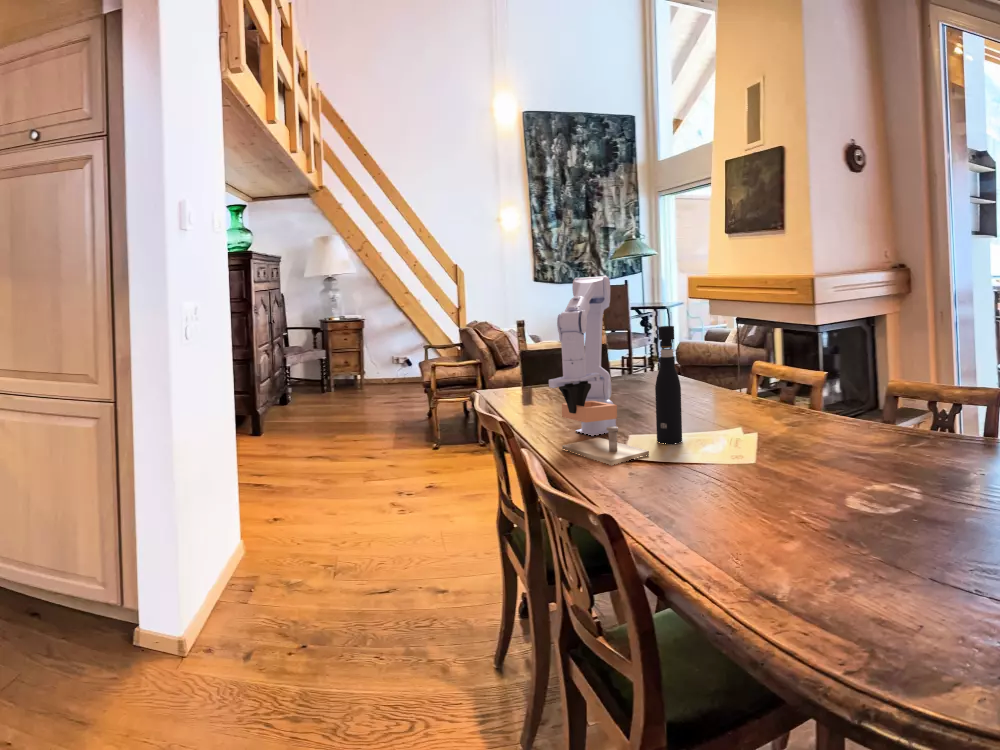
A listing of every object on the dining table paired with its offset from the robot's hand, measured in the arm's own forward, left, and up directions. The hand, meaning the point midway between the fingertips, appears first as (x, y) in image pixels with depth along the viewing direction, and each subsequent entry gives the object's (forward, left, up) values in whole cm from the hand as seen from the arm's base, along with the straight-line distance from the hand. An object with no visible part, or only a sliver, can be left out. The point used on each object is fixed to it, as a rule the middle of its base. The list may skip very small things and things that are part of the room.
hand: (576, 412), depth 161 cm
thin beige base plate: (-3, +6, -10) cm, 12 cm away
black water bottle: (-22, +10, -10) cm, 26 cm away
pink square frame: (-4, 0, -2) cm, 5 cm away
